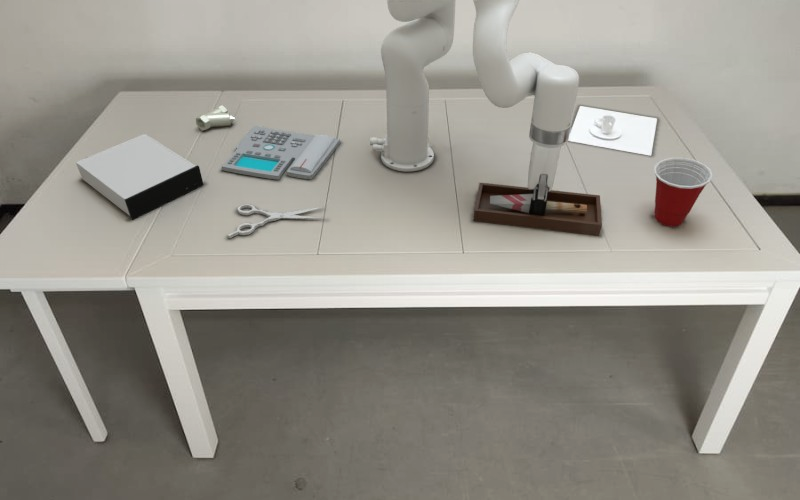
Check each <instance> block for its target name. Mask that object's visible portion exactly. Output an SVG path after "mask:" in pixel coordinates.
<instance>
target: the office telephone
mask: <svg viewBox="0 0 800 500" xmlns="http://www.w3.org/2000/svg"><path fill="white" fill-rule="evenodd" d="M340 144H341V139H340V138H335V137H333V136H330V135H327V134H322V133H321V134H310V133H304V132H298V131H297V132H296V131H290V130H283V129H278V128H272V127H271V128H270V127H266V126H260V125H253V126H252V127H251V128H250V130H248V131H247V133H246V134H245V135H244V136H243V137H242V138H241V140H240V141H239V142H238V143H237V145H236V146H235V151H234V152H233V153H231V155H230V157H228V158H227V160H226V161H225V162H223V163H222V164H221V165H220V167H221V170H222V171H224V172H229V173H235V174H240V175H246V176H250V177H257V178H264V179H269V180H270V179H271V180H277V181H278V180H281V178H282V176H283V174H284V173H285V172H286V175H287V176H288V177H292V178H297V179H304V180H312V179H314V178H315V176H316V175H317V174H318V173H319V172H320V170H321V169H322V167H323V166H324V165H325V164H326V163H327V161H328V160H329V159H330V157H332V155H333V154H334V152H335V151H336V149H337V148H338V147H339V145H340Z"/></svg>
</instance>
